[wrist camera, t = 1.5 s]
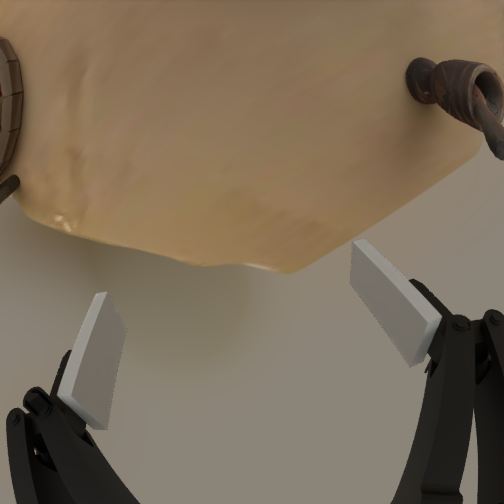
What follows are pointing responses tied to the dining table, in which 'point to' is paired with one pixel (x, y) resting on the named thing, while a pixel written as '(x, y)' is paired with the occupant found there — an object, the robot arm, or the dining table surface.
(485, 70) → the mortar and pestle
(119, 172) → the dining table surface
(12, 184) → the post
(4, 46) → the index ring
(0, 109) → the canned food
